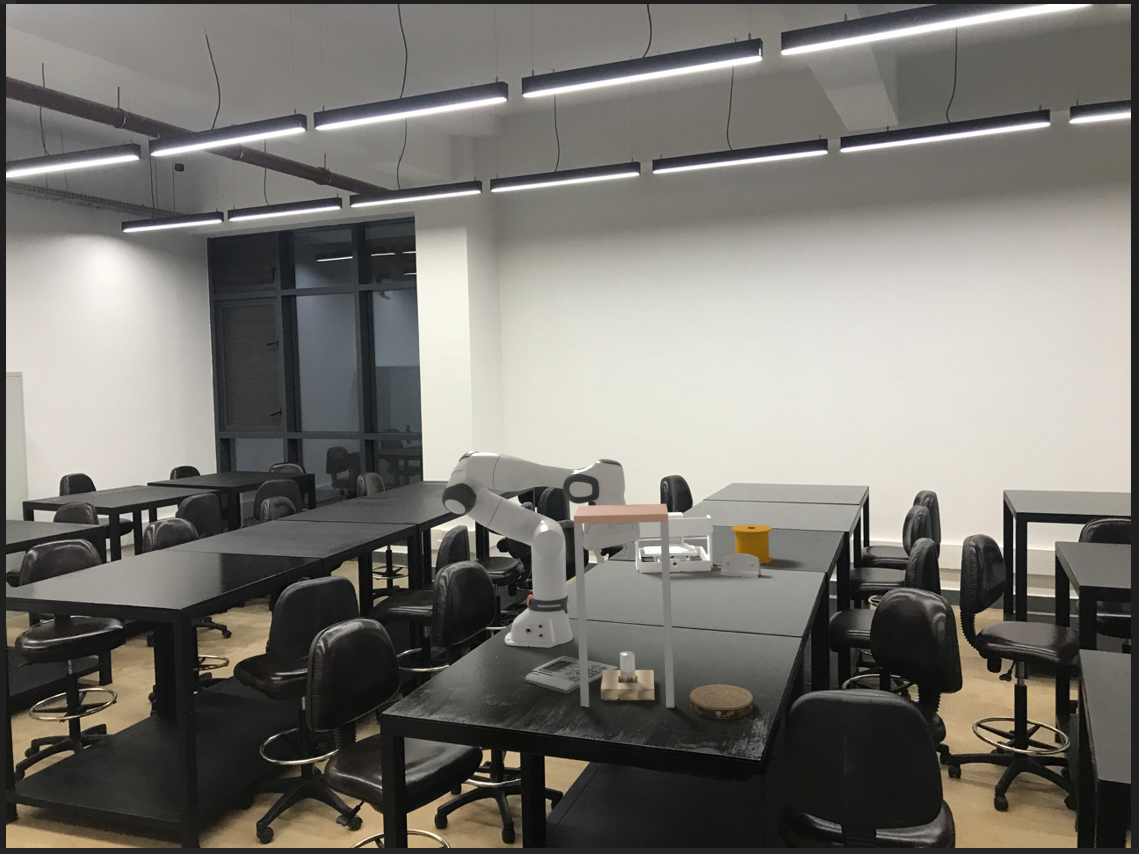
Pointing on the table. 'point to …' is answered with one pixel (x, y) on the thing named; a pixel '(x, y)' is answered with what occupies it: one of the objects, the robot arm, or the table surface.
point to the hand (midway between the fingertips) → (612, 560)
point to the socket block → (627, 686)
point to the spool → (753, 541)
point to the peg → (627, 667)
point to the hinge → (741, 565)
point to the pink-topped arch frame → (584, 517)
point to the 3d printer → (676, 544)
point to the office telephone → (567, 673)
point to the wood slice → (721, 701)
